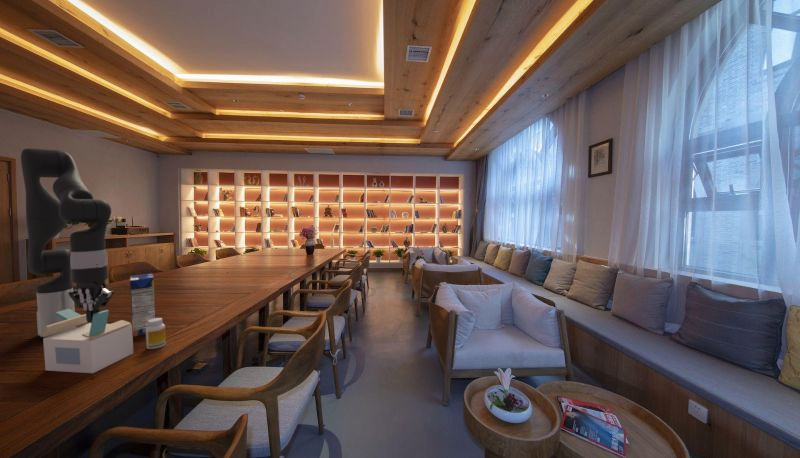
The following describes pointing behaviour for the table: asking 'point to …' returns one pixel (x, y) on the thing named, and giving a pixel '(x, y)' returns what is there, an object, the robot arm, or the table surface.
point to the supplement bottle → (155, 334)
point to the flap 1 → (65, 322)
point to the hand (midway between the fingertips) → (93, 321)
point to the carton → (86, 349)
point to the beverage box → (142, 302)
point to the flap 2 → (103, 325)
